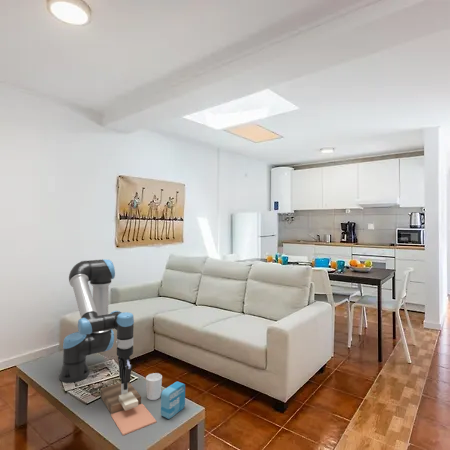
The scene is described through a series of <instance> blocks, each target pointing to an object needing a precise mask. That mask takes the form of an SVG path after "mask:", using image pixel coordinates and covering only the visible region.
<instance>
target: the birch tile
mask: <svg viewBox="0 0 450 450" xmlns="http://www.w3.org/2000/svg"><path fill="white" fill-rule="evenodd" d="M119 402H120V404H121V405H122V407H123V408H124V410H125V411H126V410H129V409H132V408H135V407H138V400H137V399H136V397H135V396H134V395H133V393H132V392H128V393H125V394H122V395H119Z"/></svg>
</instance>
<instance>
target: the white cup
mask: <svg viewBox="0 0 450 450" xmlns="http://www.w3.org/2000/svg"><path fill="white" fill-rule="evenodd" d="M162 380H163V375H162V374H161V373H159V372H155V373H154V372H153V373H149V374H148V375H146V376H145V385H146V386H145V387H146V388H145V389H146V390H145V391H146V397H147V400H151V401H156V400H158V399H161V393H162V387H163V386H162V383H163V381H162Z"/></svg>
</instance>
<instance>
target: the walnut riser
mask: <svg viewBox="0 0 450 450" xmlns="http://www.w3.org/2000/svg"><path fill="white" fill-rule="evenodd" d="M99 392H100V393H99V395H100V399H101V400H102V402H103V403H104V405H105V406H106V408H107V410H108V411H109V413H110V415H111V414H114V413H117V412H120V411H122V410H124V408H123V407H122V405H121V404H120V402H119V395H121V382H117V383H115V384H112V385H109V386H105V387H101V388H100V390H99ZM128 392H132V393H133V395H134V396H135V397H136V399H137V400H138V405H139V404H142V396H141V395H140V394H139V392H138V391H137V390H136V388H135V387H134V386H133V385H132V383H131V382H129V383H128Z"/></svg>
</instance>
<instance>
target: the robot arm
mask: <svg viewBox="0 0 450 450" xmlns="http://www.w3.org/2000/svg"><path fill="white" fill-rule="evenodd" d="M68 275H69V276H68V283H69V285H70V286H71V287H72V289H73V293H74V296H75V297H74V298H75V301H76V304H77V308H78V311H79V316H80V319H78V321H77V329H78V331H75V332H72V333H69V334H68V335H66V336H65V337H64V339H63V342H62V344H63V345H62V354H63V355H62V365H61V369H60V371H59V376H58V378H59V381H61V382H62V381H63V382H62V383H77V382H81V381H82V380H85V379H86V378H88V376H89V375H90V368H89V366H88V362H87V356H90V355H94V354H95V355H96V354H99V353H104V352H106V351H110V350H112V348H113V346H114V344H115V343H116V356H117V361H118V373H119V374H118V375H119V379H120V381H121V382H120V383H121V395H122V394H125V393H128V383H131V377H132V376H131V375H132V368H133V364H130V363H131V358H130V357H131V356H132V355H133V354H134V338H135V337H134V324H135V322H134V321H135V320H134V314H133V313H132V312H129V311H127V312H126V311H125V312H122V311H119V310H113V311H111V312H110V313H109V285H111V284H112V280H114V279H115V278H116V269H115V266H114V263H113V262H112V260H110V259H103V258H102V259H94V260H81V261H80V262H78V263H77V262H76V264H75V265H74V266H73V267H72V268H71V269H70V272H69V274H68ZM89 284H90V285H91V286H92V292H91V289H90V286H89ZM114 330H116V340H115V331H114Z"/></svg>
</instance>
